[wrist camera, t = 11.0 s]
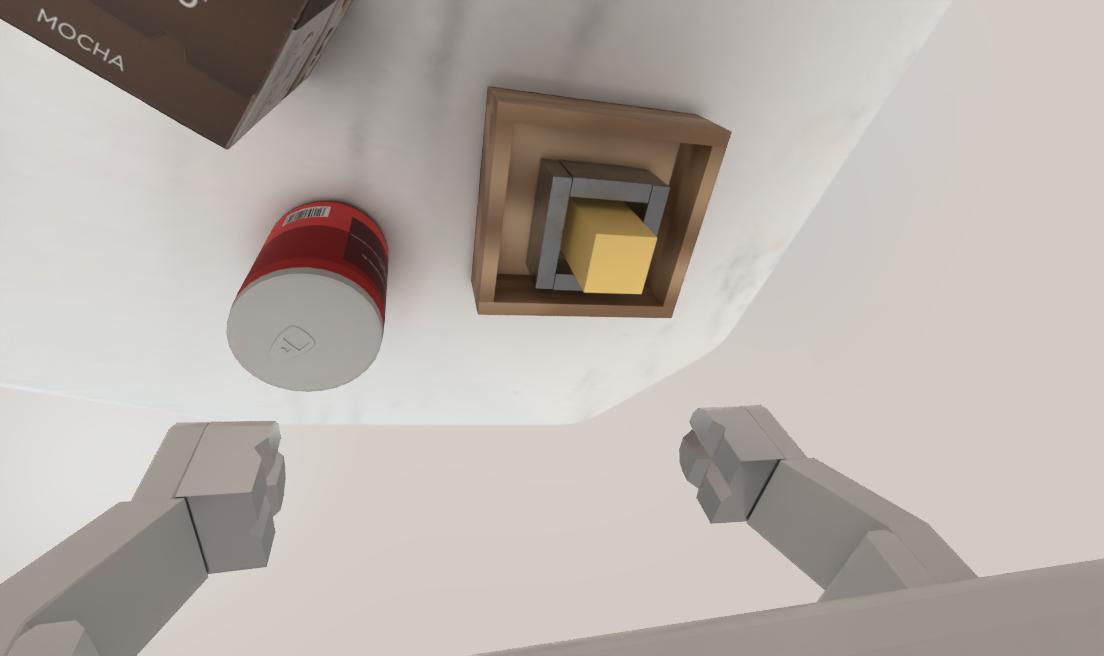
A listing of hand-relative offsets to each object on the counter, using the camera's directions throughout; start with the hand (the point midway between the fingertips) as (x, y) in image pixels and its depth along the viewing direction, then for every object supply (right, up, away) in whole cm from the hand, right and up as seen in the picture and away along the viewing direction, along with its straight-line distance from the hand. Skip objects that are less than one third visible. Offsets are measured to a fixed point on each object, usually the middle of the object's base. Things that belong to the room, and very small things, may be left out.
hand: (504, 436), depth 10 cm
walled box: (+3, +12, +29) cm, 31 cm away
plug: (+3, +10, +29) cm, 31 cm away
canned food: (-15, +8, +27) cm, 32 cm away
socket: (+3, +10, +29) cm, 31 cm away
